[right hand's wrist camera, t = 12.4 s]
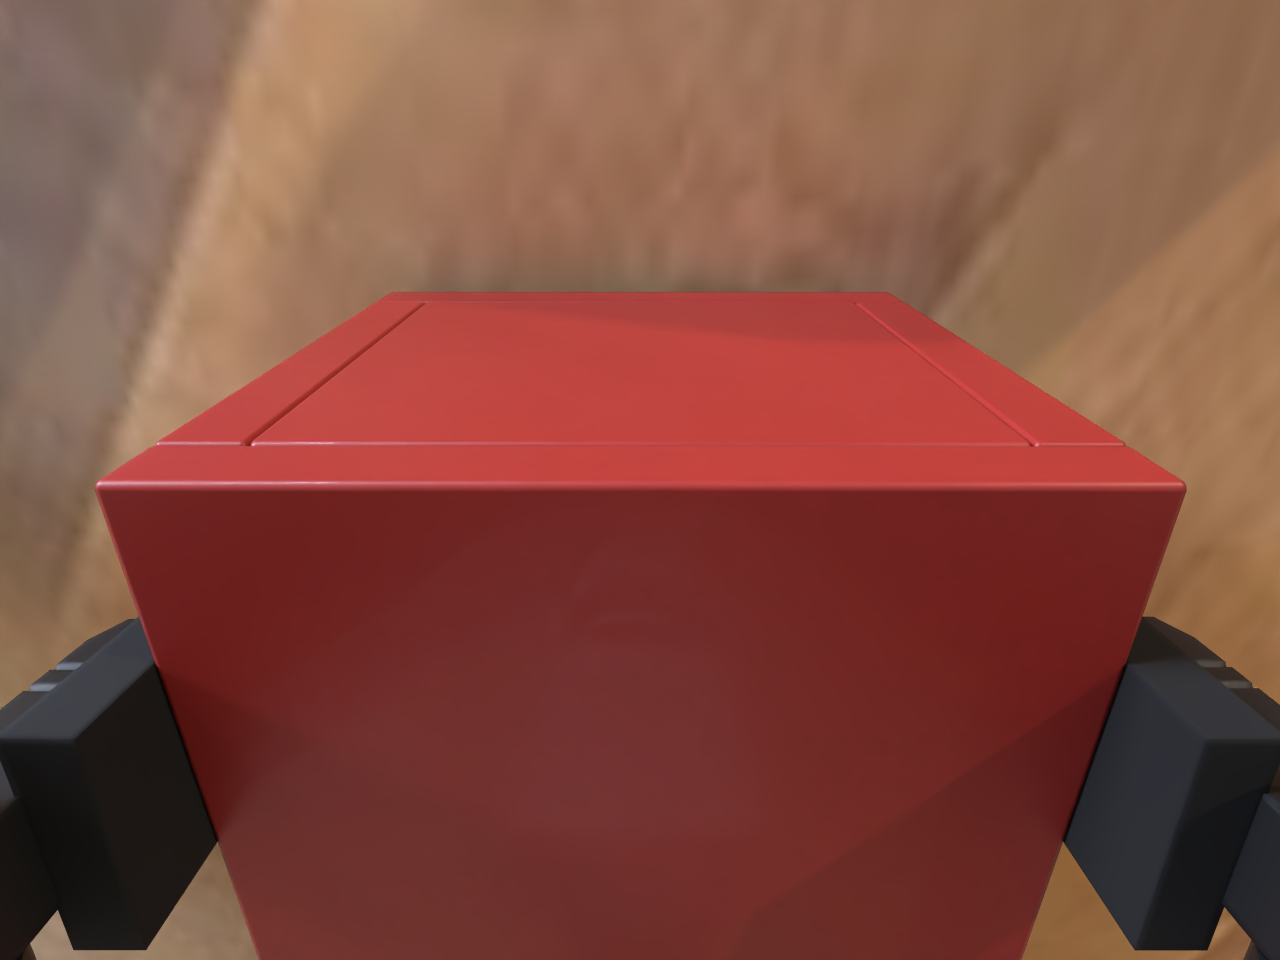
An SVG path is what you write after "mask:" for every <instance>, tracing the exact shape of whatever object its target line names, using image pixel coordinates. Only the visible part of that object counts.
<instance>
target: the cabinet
mask: <svg viewBox="0 0 1280 960" xmlns="http://www.w3.org/2000/svg"><path fill="white" fill-rule="evenodd" d="M95 492H96V495H97V497H98V500H99V503H100V506H101V509H102V512H103V515H104V517H105V520H106V523H107V526H108V529H109V532H110V535H111V537H112V540H113V543H114V546H115V549H116V552H117V555H118V558H119V560H120V563H121V566H122V569H123V572H124V575H125V578H126V580H127V583H128V586H129V589H130V592H131V595H132V598H133V600H134V603H135V606H136V609H137V612H138V615H139V618H140V620H141V623H142V626H143V629H144V632H145V635H146V638H147V641H148V643H149V646H150V649H151V652H152V655H153V658H154V661H155V663H156V666H157V669H158V672H159V675H160V678H161V681H162V683H163V686H164V689H165V692H166V695H167V698H168V701H169V703H170V706H171V709H172V712H173V715H174V718H175V721H176V724H177V726H178V729H179V732H180V735H181V738H182V741H183V744H184V746H185V749H186V752H187V755H188V758H189V761H190V764H191V766H192V769H193V772H194V775H195V778H196V781H197V784H198V786H199V789H200V792H201V795H202V798H203V801H204V804H205V807H206V809H207V812H208V815H209V818H210V821H211V824H212V827H213V829H214V832H215V835H216V838H217V841H218V844H219V847H220V849H221V852H222V855H223V858H224V861H225V864H226V867H227V869H228V872H229V875H230V878H231V881H232V884H233V887H234V890H235V892H236V895H237V898H238V901H239V904H240V907H241V910H242V912H243V915H244V918H245V921H246V924H247V927H248V930H249V932H250V935H251V938H252V941H253V944H254V947H255V950H256V952H257V955H258V958H259V960H1021V959H1022V956H1023V953H1024V950H1025V948H1026V945H1027V942H1028V939H1029V936H1030V933H1031V931H1032V928H1033V925H1034V922H1035V919H1036V916H1037V914H1038V911H1039V908H1040V905H1041V902H1042V899H1043V897H1044V894H1045V891H1046V888H1047V885H1048V882H1049V879H1050V877H1051V874H1052V871H1053V868H1054V865H1055V862H1056V860H1057V857H1058V854H1059V851H1060V848H1061V845H1062V843H1063V840H1064V837H1065V834H1066V831H1067V828H1068V826H1069V823H1070V820H1071V817H1072V814H1073V811H1074V809H1075V806H1076V803H1077V800H1078V797H1079V794H1080V792H1081V789H1082V786H1083V783H1084V780H1085V777H1086V775H1087V772H1088V769H1089V766H1090V763H1091V760H1092V757H1093V755H1094V752H1095V749H1096V746H1097V743H1098V740H1099V738H1100V735H1101V732H1102V729H1103V726H1104V723H1105V721H1106V718H1107V715H1108V712H1109V709H1110V706H1111V704H1112V701H1113V698H1114V695H1115V692H1116V689H1117V687H1118V684H1119V681H1120V678H1121V675H1122V672H1123V670H1124V667H1125V664H1126V661H1127V658H1128V655H1129V653H1130V650H1131V647H1132V644H1133V641H1134V638H1135V635H1136V633H1137V630H1138V627H1139V624H1140V621H1141V618H1142V616H1143V613H1144V610H1145V607H1146V604H1147V601H1148V599H1149V596H1150V593H1151V590H1152V587H1153V584H1154V582H1155V579H1156V576H1157V573H1158V570H1159V567H1160V565H1161V562H1162V559H1163V556H1164V553H1165V550H1166V548H1167V545H1168V542H1169V539H1170V536H1171V533H1172V531H1173V528H1174V525H1175V522H1176V519H1177V516H1178V513H1179V511H1180V508H1181V505H1182V502H1183V499H1184V496H1185V494H1186V484H1185V483H1184V482H1183V481H1182V480H1180V479H1179V478H1177V477H1176V476H1174V475H1173V474H1171V473H1169V472H1168V471H1166V470H1165V469H1163V468H1162V467H1160V466H1158V465H1157V464H1155V463H1154V462H1152V461H1151V460H1149V459H1147V458H1146V457H1144V456H1143V455H1141V454H1140V453H1138V452H1137V451H1135V450H1133V449H1131V448H1129V447H1126V446H1125V443H1124V442H1123V441H1121V440H1120V439H1118V438H1116V437H1115V436H1113V435H1112V434H1110V433H1109V432H1107V431H1105V430H1104V429H1102V428H1101V427H1099V426H1098V425H1096V424H1094V423H1093V422H1091V421H1090V420H1088V419H1087V418H1085V417H1083V416H1082V415H1080V414H1079V413H1077V412H1076V411H1074V410H1072V409H1071V408H1069V407H1068V406H1066V405H1065V404H1063V403H1061V402H1060V401H1058V400H1057V399H1055V398H1054V397H1052V396H1050V395H1049V394H1047V393H1046V392H1044V391H1043V390H1041V389H1039V388H1038V387H1036V386H1035V385H1033V384H1032V383H1030V382H1028V381H1027V380H1025V379H1024V378H1022V377H1021V376H1019V375H1017V374H1016V373H1014V372H1013V371H1011V370H1010V369H1008V368H1006V367H1005V366H1003V365H1002V364H1000V363H999V362H997V361H995V360H994V359H992V358H991V357H989V356H988V355H986V354H984V353H983V352H981V351H980V350H978V349H977V348H975V347H973V346H972V345H970V344H969V343H967V342H966V341H964V340H962V339H961V338H959V337H958V336H956V335H955V334H953V333H951V332H950V331H948V330H947V329H945V328H943V327H942V326H940V325H939V324H937V323H936V322H934V321H932V320H931V319H929V318H928V317H926V316H925V315H923V314H921V313H920V312H918V311H917V310H915V309H914V308H912V307H910V306H909V305H907V304H906V303H904V302H903V301H901V300H899V299H898V298H896V297H895V296H893V295H892V294H890V293H888V292H392V293H390V294H388V295H387V296H385V297H383V298H382V299H380V300H379V301H377V302H376V303H374V304H372V305H371V306H369V307H368V308H366V309H365V310H363V311H362V312H360V313H358V314H357V315H355V316H354V317H352V318H351V319H349V320H347V321H346V322H344V323H343V324H341V325H340V326H338V327H336V328H335V329H333V330H332V331H330V332H329V333H327V334H325V335H324V336H322V337H321V338H319V339H318V340H316V341H315V342H313V343H311V344H310V345H308V346H307V347H305V348H304V349H302V350H300V351H299V352H297V353H296V354H294V355H293V356H291V357H289V358H288V359H286V360H285V361H283V362H282V363H280V364H279V365H277V366H275V367H274V368H272V369H271V370H269V371H268V372H266V373H264V374H263V375H261V376H260V377H258V378H257V379H255V380H253V381H252V382H250V383H249V384H247V385H246V386H244V387H242V388H241V389H239V390H238V391H236V392H235V393H233V394H232V395H230V396H228V397H227V398H225V399H224V400H222V401H221V402H219V403H217V404H216V405H214V406H213V407H211V408H210V409H208V410H206V411H205V412H203V413H202V414H200V415H199V416H197V417H195V418H194V419H192V420H191V421H189V422H188V423H186V424H185V425H183V426H181V427H180V428H178V429H177V430H175V431H174V432H172V433H170V434H169V435H167V436H166V437H164V438H163V439H161V440H159V441H158V442H157V443H156V446H153V447H151V448H149V449H147V450H146V451H144V452H142V453H141V454H139V455H138V456H136V457H135V458H133V459H131V460H130V461H128V462H127V463H125V464H124V465H122V466H121V467H119V468H117V469H116V470H114V471H113V472H111V473H110V474H108V475H106V476H105V477H103V478H102V479H100V480H99V481H97V483H96V485H95Z"/></svg>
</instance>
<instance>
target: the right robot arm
mask: <svg viewBox="0 0 1280 960" xmlns="http://www.w3.org/2000/svg"><path fill="white" fill-rule="evenodd" d="M1063 842H1064V843H1065V845H1066V846H1067V848H1068V849H1069V851H1070V852H1071V854H1072V856H1073V857H1074V859H1075V860H1076V862H1077V863H1078V865H1079V866H1080V868H1081V869H1082V871H1083V872H1084V874H1085V875H1086V877H1087V878H1088V880H1089V881H1090V883H1091V884H1092V886H1093V887H1094V889H1095V890H1096V892H1097V894H1098V895H1099V897H1100V898H1101V900H1102V901H1103V903H1104V904H1105V906H1106V907H1107V909H1108V910H1109V912H1110V913H1111V915H1112V916H1113V918H1114V919H1115V921H1116V922H1117V924H1118V925H1119V927H1120V928H1121V930H1122V931H1123V933H1124V935H1125V936H1126V938H1127V939H1128V941H1129V942H1130V944H1131V945H1132V947H1133V948H1134V950H1208V947H1209V945H1210V942H1211V940H1212V937H1213V935H1214V932H1215V929H1216V927H1217V924H1218V922H1219V919H1220V917H1221V914H1222V911H1223V909H1224V907H1225V908H1226V909H1227V910H1228V912H1229V913H1230V914H1231V915H1232V917H1233V918H1234V919H1235V920H1236V921H1237V923H1238V924H1239V925H1240V926H1241V927H1242V929H1243V930H1244V931H1245V932H1246V933H1247V935H1248V936H1249V937H1250V938H1251V943H1250V945H1249V947H1248V950H1247V952H1246V955H1245V957H1244V959H1243V960H1280V705H1279V704H1278V703H1276V702H1275V701H1274V700H1273V699H1271V698H1270V697H1269V696H1268V695H1266V694H1265V693H1264V692H1263V691H1261V690H1260V689H1259V688H1252V683H1251V682H1250V681H1249V680H1247V679H1246V678H1245V677H1244V676H1242V675H1241V674H1240V673H1239V672H1237V671H1236V670H1235V669H1233V668H1232V667H1226V662H1225V661H1223V660H1222V659H1221V658H1220V657H1218V656H1217V655H1216V654H1215V653H1213V652H1212V651H1211V650H1209V649H1208V648H1207V647H1206V646H1204V645H1203V644H1202V643H1201V642H1199V641H1198V640H1197V639H1196V638H1194V637H1192V636H1190V635H1188V634H1186V633H1184V632H1182V631H1180V630H1178V629H1176V628H1174V627H1172V626H1170V625H1168V624H1166V623H1164V622H1162V621H1160V620H1158V619H1157V618H1155V617H1142V618H1141V621H1140V624H1139V627H1138V630H1137V633H1136V635H1135V638H1134V641H1133V644H1132V647H1131V650H1130V653H1129V655H1128V658H1127V661H1126V664H1125V667H1124V670H1123V672H1122V675H1121V678H1120V681H1119V684H1118V687H1117V689H1116V692H1115V695H1114V698H1113V701H1112V704H1111V706H1110V709H1109V712H1108V715H1107V718H1106V721H1105V723H1104V726H1103V729H1102V732H1101V735H1100V738H1099V740H1098V743H1097V746H1096V749H1095V752H1094V755H1093V757H1092V760H1091V763H1090V766H1089V769H1088V772H1087V775H1086V777H1085V780H1084V783H1083V786H1082V789H1081V792H1080V794H1079V797H1078V800H1077V803H1076V806H1075V809H1074V811H1073V814H1072V817H1071V820H1070V823H1069V826H1068V828H1067V831H1066V834H1065V837H1064V840H1063ZM216 843H217V838H216V835H215V832H214V829H213V827H212V824H211V821H210V818H209V815H208V812H207V809H206V807H205V804H204V801H203V798H202V795H201V792H200V789H199V786H198V784H197V781H196V778H195V775H194V772H193V769H192V766H191V764H190V761H189V758H188V755H187V752H186V749H185V746H184V744H183V741H182V738H181V735H180V732H179V729H178V726H177V724H176V721H175V718H174V715H173V712H172V709H171V706H170V703H169V701H168V698H167V695H166V692H165V689H164V686H163V683H162V681H161V678H160V675H159V672H158V669H157V666H156V663H155V661H154V658H153V655H152V652H151V649H150V646H149V643H148V641H147V638H146V635H145V632H144V629H143V626H142V623H141V620H140V618H139V617H138V618H137V619H128V620H126V621H124V622H122V623H120V624H118V625H116V626H114V627H112V628H110V629H108V630H106V631H104V632H102V633H101V634H99V635H97V636H95V637H93V638H91V639H89V640H87V641H86V642H84V643H83V644H82V645H81V646H79V647H78V648H77V649H76V650H74V651H73V652H72V653H71V654H69V655H68V656H67V657H66V658H64V659H63V660H62V661H61V662H59V663H58V664H57V665H56V670H49V671H48V672H47V673H46V674H44V675H43V676H42V677H41V678H39V679H38V680H37V681H36V682H34V683H33V684H32V685H31V686H30V690H29V691H23V692H22V693H20V694H19V695H18V696H17V697H15V698H14V699H13V700H12V701H10V702H9V703H8V704H7V705H5V706H4V707H3V708H2V709H0V960H36V957H35V955H34V952H33V950H32V947H31V945H30V943H31V941H32V940H33V939H34V938H35V937H36V935H37V934H38V933H39V932H40V930H41V929H42V928H43V927H44V926H45V924H46V923H47V922H48V921H49V919H50V918H51V917H52V916H53V915H54V913H55V912H56V911H57V910H58V911H59V914H60V916H61V919H62V921H63V924H64V927H65V929H66V932H67V934H68V937H69V939H70V942H71V945H72V947H73V950H146V949H147V948H148V946H149V945H150V943H151V942H152V940H153V939H154V937H155V936H156V934H157V933H158V931H159V930H160V928H161V927H162V925H163V924H164V922H165V921H166V919H167V917H168V916H169V914H170V913H171V911H172V910H173V908H174V907H175V905H176V904H177V902H178V901H179V899H180V898H181V896H182V895H183V893H184V892H185V890H186V889H187V887H188V886H189V884H190V883H191V881H192V879H193V878H194V876H195V875H196V873H197V872H198V870H199V869H200V867H201V866H202V864H203V863H204V861H205V860H206V858H207V857H208V855H209V854H210V852H211V851H212V849H213V848H214V846H215V845H216Z"/></svg>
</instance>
